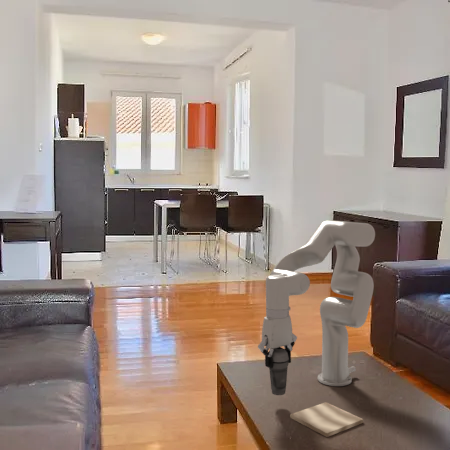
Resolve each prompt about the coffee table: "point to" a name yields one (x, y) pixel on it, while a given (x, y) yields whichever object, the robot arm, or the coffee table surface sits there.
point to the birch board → (326, 419)
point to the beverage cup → (279, 371)
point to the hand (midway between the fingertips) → (278, 364)
